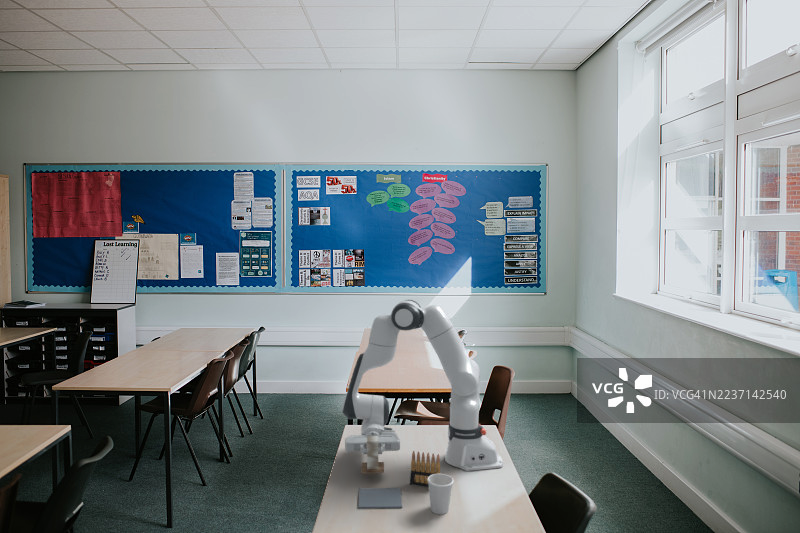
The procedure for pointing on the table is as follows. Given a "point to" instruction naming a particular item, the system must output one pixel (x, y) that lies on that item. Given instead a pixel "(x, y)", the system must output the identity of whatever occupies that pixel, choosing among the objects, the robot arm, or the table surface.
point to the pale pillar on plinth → (372, 457)
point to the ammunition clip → (423, 469)
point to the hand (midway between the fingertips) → (372, 452)
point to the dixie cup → (440, 492)
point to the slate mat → (379, 498)
